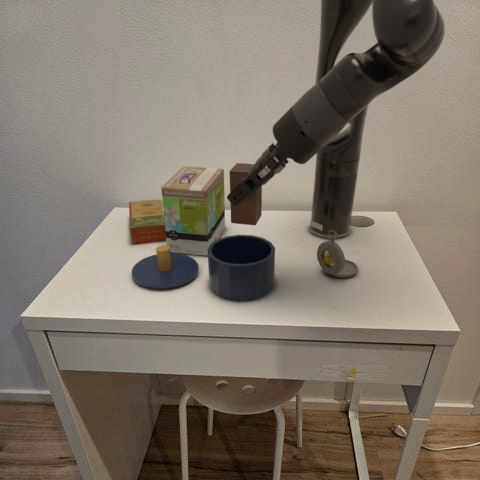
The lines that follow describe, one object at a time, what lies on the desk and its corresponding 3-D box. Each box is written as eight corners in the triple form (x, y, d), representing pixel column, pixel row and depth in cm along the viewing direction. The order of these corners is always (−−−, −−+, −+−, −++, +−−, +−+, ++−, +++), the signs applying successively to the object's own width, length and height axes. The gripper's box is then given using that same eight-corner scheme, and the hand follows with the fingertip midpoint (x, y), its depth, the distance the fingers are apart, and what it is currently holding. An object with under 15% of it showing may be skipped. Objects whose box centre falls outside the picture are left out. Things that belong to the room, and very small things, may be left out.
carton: (163, 214, 114) (161, 198, 111) (168, 240, 101) (166, 223, 98) (130, 217, 112) (128, 201, 110) (131, 244, 100) (128, 227, 97)
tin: (216, 266, 91) (214, 233, 86) (276, 269, 89) (277, 236, 85) (204, 299, 81) (201, 263, 77) (270, 303, 79) (271, 267, 75)
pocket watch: (359, 265, 90) (366, 220, 84) (353, 286, 84) (361, 238, 78) (319, 260, 92) (324, 215, 86) (311, 279, 86) (316, 232, 80)
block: (238, 213, 79) (236, 162, 74) (261, 215, 78) (262, 164, 73) (230, 223, 76) (229, 170, 70) (255, 225, 75) (255, 172, 69)
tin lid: (144, 256, 95) (140, 232, 92) (204, 259, 93) (203, 235, 90) (122, 288, 84) (117, 262, 81) (190, 293, 83) (187, 267, 79)
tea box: (210, 257, 94) (206, 189, 85) (166, 253, 96) (158, 187, 87) (226, 228, 106) (224, 166, 97) (187, 225, 108) (181, 164, 99)
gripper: (302, 95, 69) (232, 166, 79) (284, 114, 58) (205, 194, 68) (332, 132, 71) (260, 197, 81) (320, 157, 60) (238, 229, 70)
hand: (235, 195), depth 75 cm, fingers closed on block, 4 cm apart
